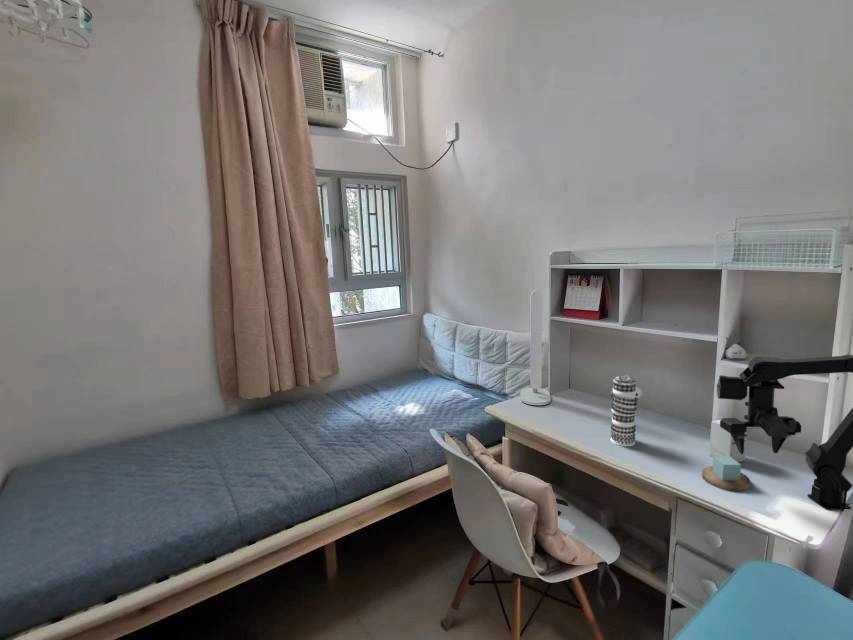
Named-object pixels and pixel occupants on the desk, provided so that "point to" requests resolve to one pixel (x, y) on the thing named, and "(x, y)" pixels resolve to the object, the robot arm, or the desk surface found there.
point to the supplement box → (724, 443)
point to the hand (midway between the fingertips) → (758, 453)
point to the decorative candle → (623, 411)
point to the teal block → (726, 468)
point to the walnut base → (725, 481)
